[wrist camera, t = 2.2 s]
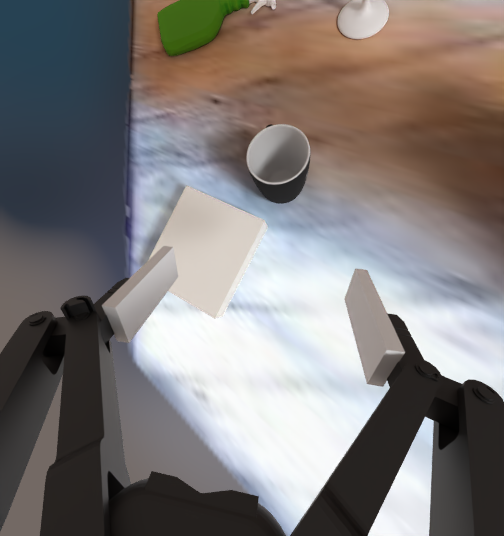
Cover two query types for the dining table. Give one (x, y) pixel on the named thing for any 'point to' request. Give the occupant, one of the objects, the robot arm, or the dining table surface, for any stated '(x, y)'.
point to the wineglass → (362, 18)
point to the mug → (279, 162)
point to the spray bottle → (197, 21)
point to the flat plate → (210, 249)
